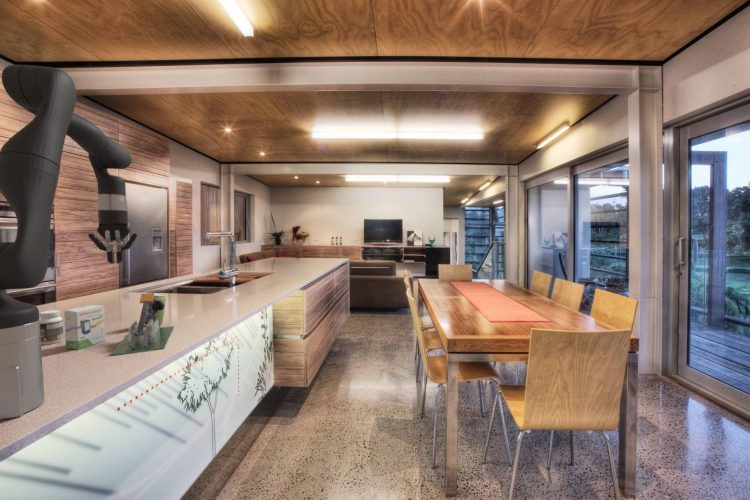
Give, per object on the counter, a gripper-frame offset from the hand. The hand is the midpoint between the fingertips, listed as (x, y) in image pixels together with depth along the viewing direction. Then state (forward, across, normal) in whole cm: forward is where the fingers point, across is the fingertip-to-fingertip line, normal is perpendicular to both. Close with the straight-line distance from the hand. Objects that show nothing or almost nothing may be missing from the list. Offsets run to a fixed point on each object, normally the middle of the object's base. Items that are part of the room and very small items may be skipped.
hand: (115, 263), depth 109 cm
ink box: (+25, -8, -2) cm, 27 cm away
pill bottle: (+25, -19, +6) cm, 32 cm away
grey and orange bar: (+16, +8, -6) cm, 19 cm away
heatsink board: (+25, +8, -4) cm, 27 cm away
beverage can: (+25, +8, +14) cm, 30 cm away
